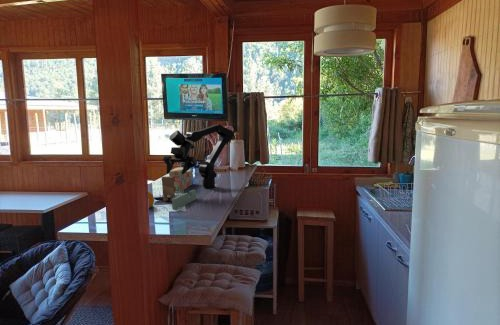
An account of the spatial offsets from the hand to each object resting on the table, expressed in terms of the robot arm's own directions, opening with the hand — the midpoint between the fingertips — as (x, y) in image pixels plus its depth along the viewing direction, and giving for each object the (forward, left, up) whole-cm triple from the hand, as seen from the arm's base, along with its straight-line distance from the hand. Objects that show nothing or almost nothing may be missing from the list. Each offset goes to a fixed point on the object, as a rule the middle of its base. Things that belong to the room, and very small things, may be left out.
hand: (174, 173), depth 197 cm
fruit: (+18, +14, -13) cm, 27 cm away
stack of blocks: (-7, -24, -13) cm, 28 cm away
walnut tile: (+4, +5, -13) cm, 15 cm away
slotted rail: (-2, +16, -13) cm, 21 cm away
